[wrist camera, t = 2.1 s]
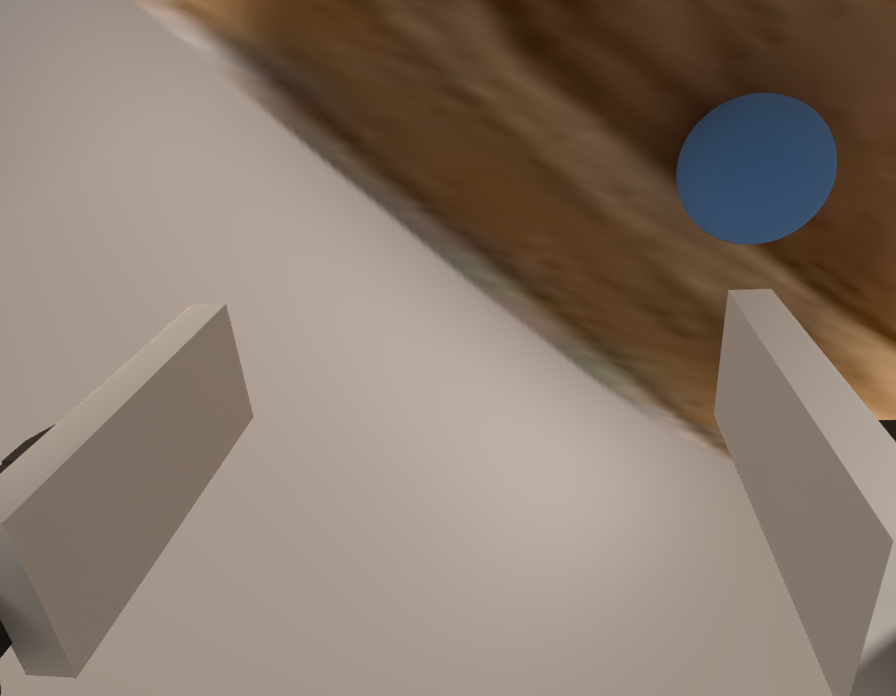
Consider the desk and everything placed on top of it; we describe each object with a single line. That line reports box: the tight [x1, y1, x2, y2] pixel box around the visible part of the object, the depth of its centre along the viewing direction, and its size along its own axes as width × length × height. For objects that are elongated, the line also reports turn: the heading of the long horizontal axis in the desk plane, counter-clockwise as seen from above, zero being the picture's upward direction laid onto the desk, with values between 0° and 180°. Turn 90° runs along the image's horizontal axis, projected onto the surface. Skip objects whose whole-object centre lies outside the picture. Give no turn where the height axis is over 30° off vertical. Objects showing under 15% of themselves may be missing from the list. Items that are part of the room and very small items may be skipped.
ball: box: [676, 92, 837, 244], centre depth 26 cm, size 6×6×6 cm
